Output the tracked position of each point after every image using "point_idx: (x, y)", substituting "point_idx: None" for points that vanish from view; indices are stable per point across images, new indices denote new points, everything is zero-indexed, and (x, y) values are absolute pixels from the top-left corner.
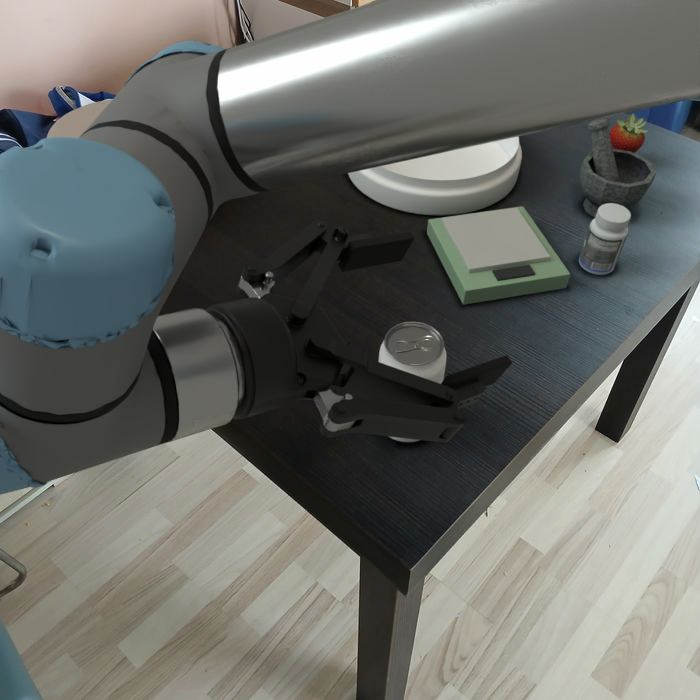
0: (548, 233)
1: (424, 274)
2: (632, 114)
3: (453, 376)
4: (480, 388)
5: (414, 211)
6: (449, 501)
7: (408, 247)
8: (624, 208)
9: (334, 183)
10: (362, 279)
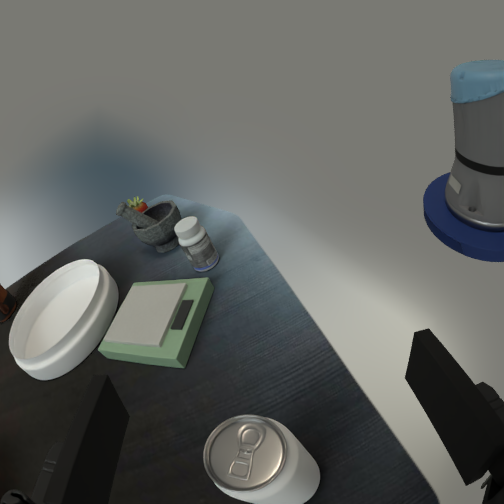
0: (163, 279)
1: (138, 381)
2: (128, 200)
3: (496, 433)
4: (486, 391)
5: (86, 355)
6: (398, 467)
7: (116, 394)
8: (186, 218)
9: (34, 391)
10: None
